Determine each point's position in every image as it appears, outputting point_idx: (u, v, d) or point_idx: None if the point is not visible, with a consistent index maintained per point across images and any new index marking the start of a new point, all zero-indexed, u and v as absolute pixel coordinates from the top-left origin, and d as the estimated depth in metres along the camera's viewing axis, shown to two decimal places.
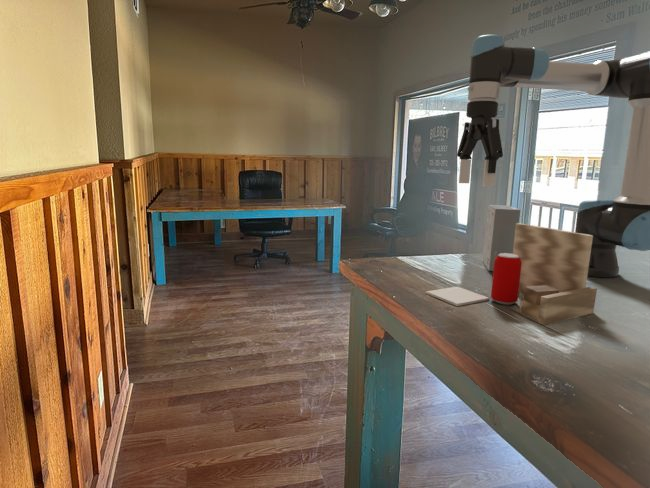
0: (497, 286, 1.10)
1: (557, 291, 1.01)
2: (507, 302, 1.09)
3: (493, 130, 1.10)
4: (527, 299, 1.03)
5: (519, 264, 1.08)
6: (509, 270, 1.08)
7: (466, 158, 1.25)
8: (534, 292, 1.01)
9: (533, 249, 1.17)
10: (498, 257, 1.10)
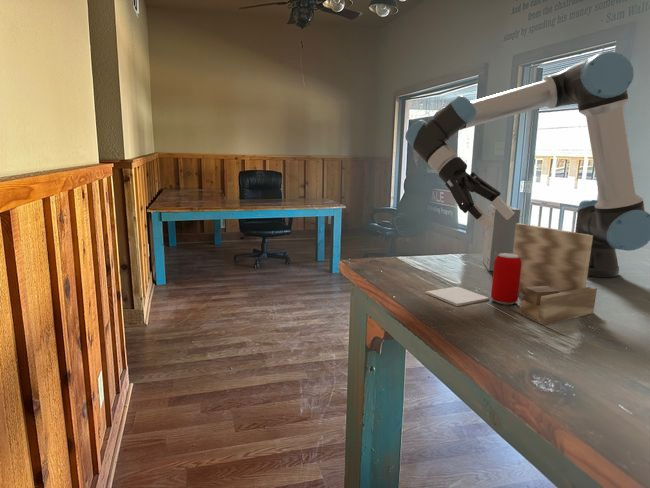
0: (497, 286, 1.10)
1: (557, 292, 1.01)
2: (507, 302, 1.09)
3: (452, 189, 1.19)
4: (527, 300, 1.03)
5: (519, 264, 1.08)
6: (509, 270, 1.08)
7: (495, 198, 1.27)
8: (534, 292, 1.01)
9: (533, 249, 1.17)
10: (498, 257, 1.10)
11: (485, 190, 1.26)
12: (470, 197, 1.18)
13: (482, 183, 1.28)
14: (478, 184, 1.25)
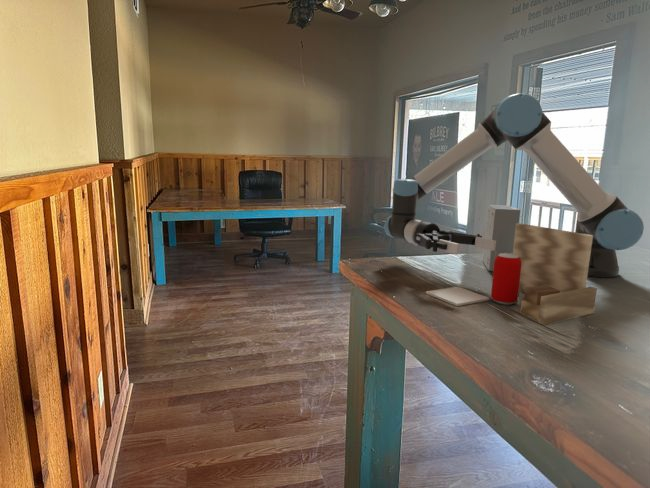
0: (497, 286, 1.10)
1: (558, 291, 1.01)
2: (507, 302, 1.09)
3: (420, 240, 1.26)
4: (528, 299, 1.03)
5: (519, 264, 1.08)
6: (509, 270, 1.08)
7: None
8: (534, 292, 1.01)
9: (533, 249, 1.17)
10: (498, 257, 1.10)
11: (462, 236, 1.29)
12: (435, 238, 1.23)
13: (461, 235, 1.32)
14: (452, 234, 1.30)
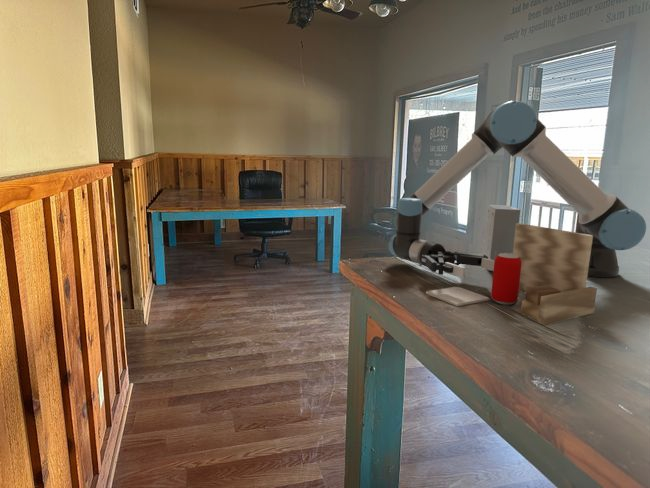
0: (497, 286, 1.10)
1: (559, 291, 1.01)
2: (507, 302, 1.09)
3: (426, 262, 1.25)
4: (528, 299, 1.03)
5: (519, 264, 1.08)
6: (509, 270, 1.08)
7: None
8: (535, 292, 1.01)
9: (533, 249, 1.17)
10: (498, 257, 1.10)
11: (468, 257, 1.27)
12: (441, 260, 1.21)
13: (467, 255, 1.30)
14: (458, 255, 1.28)
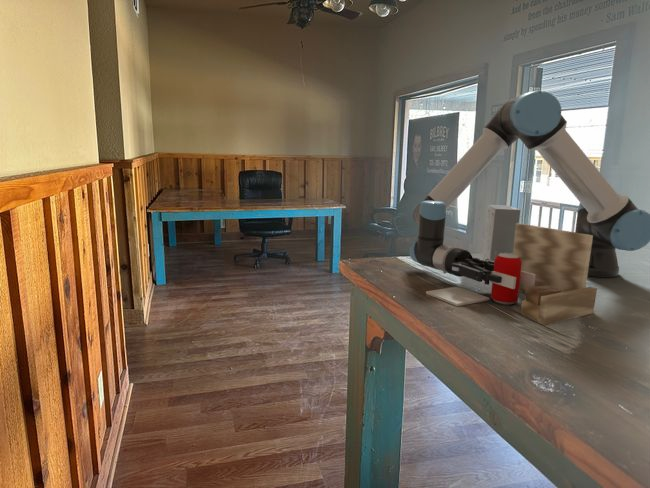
0: (497, 286, 1.10)
1: (559, 291, 1.01)
2: (507, 302, 1.09)
3: (460, 271, 1.16)
4: (529, 300, 1.03)
5: (519, 264, 1.08)
6: (509, 270, 1.08)
7: None
8: (535, 292, 1.01)
9: (533, 249, 1.17)
10: (498, 257, 1.10)
11: None
12: (483, 269, 1.13)
13: None
14: (485, 263, 1.19)
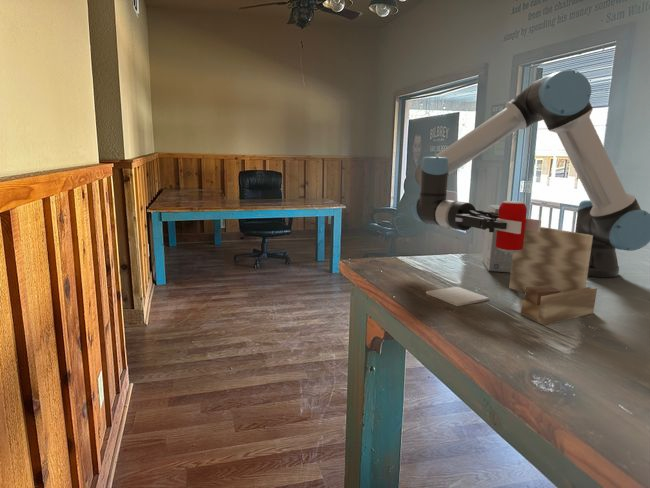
0: (502, 234, 1.07)
1: (559, 291, 1.01)
2: (512, 250, 1.07)
3: (464, 221, 1.13)
4: (528, 299, 1.03)
5: (524, 210, 1.05)
6: (514, 216, 1.05)
7: None
8: (535, 292, 1.01)
9: (533, 249, 1.17)
10: (503, 204, 1.07)
11: None
12: (487, 217, 1.10)
13: None
14: (489, 214, 1.16)
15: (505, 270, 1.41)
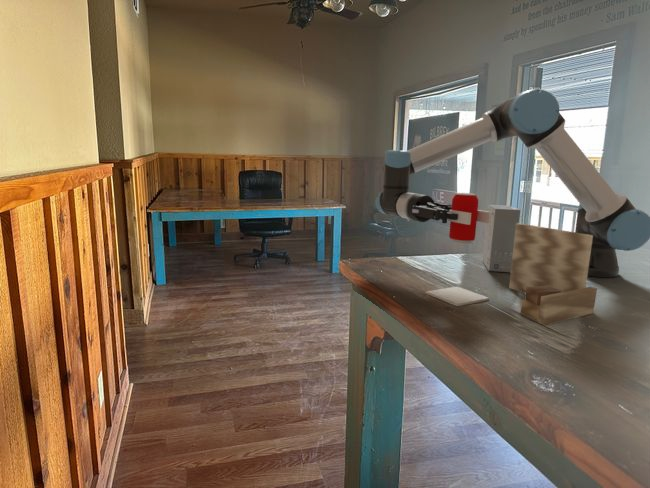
0: (454, 224, 1.10)
1: (559, 292, 1.01)
2: (464, 240, 1.10)
3: (420, 213, 1.16)
4: (529, 299, 1.03)
5: (475, 201, 1.08)
6: (465, 207, 1.08)
7: None
8: (535, 292, 1.01)
9: (533, 249, 1.17)
10: (455, 195, 1.10)
11: None
12: (441, 209, 1.13)
13: None
14: (445, 206, 1.19)
15: (505, 270, 1.41)
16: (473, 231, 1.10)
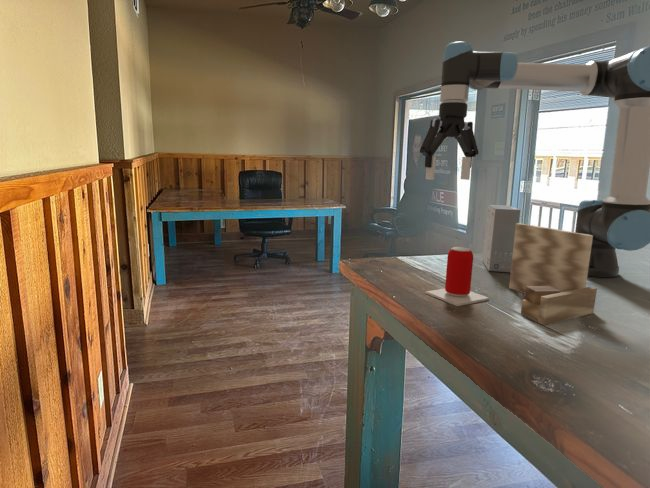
0: (450, 279, 1.13)
1: (558, 292, 1.01)
2: (459, 294, 1.12)
3: (431, 129, 1.24)
4: (527, 299, 1.03)
5: (470, 257, 1.11)
6: (460, 263, 1.11)
7: (468, 156, 1.32)
8: (533, 291, 1.01)
9: (533, 249, 1.17)
10: (451, 250, 1.13)
11: (464, 145, 1.30)
12: (436, 147, 1.24)
13: (470, 137, 1.30)
14: (462, 137, 1.28)
15: (505, 270, 1.41)
16: (468, 285, 1.13)
